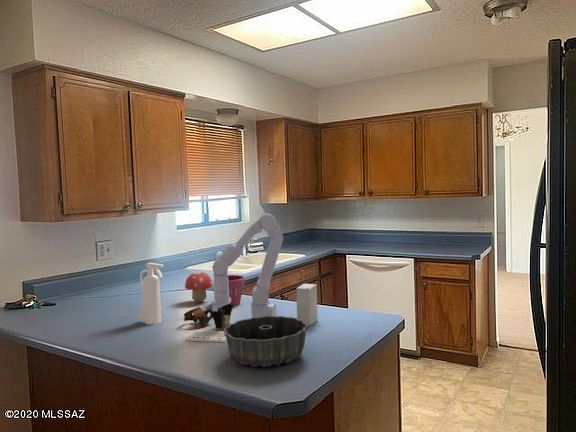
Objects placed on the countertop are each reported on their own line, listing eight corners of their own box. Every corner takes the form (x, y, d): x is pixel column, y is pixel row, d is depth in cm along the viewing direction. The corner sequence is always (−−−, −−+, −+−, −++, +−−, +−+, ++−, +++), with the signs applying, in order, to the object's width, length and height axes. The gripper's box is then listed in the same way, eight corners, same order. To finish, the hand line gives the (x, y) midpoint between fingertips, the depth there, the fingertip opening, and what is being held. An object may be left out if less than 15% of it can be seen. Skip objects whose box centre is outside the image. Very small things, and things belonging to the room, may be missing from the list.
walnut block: (229, 327, 175) (229, 315, 175) (226, 330, 171) (225, 317, 171) (220, 327, 176) (219, 314, 176) (216, 330, 172) (215, 317, 172)
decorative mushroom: (180, 305, 215) (178, 274, 215) (194, 298, 228) (193, 269, 227) (204, 306, 211) (203, 274, 210) (218, 299, 224) (216, 269, 223)
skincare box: (304, 319, 183) (303, 283, 182) (318, 320, 180) (317, 283, 179) (296, 325, 175) (295, 287, 174) (311, 326, 172) (309, 288, 172)
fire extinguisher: (143, 318, 192) (141, 261, 190) (168, 320, 189) (166, 262, 187) (133, 323, 186) (131, 263, 184) (159, 326, 182) (156, 265, 180)
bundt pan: (207, 359, 141) (206, 328, 141) (269, 338, 160) (268, 311, 159) (263, 382, 122) (261, 346, 122) (326, 355, 141) (324, 324, 140)
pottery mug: (189, 332, 173) (181, 312, 175) (188, 336, 181) (181, 317, 184) (218, 319, 177) (210, 300, 180) (216, 324, 186) (209, 306, 188)
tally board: (234, 333, 167) (234, 331, 167) (224, 342, 157) (224, 340, 157) (197, 332, 170) (197, 329, 170) (185, 340, 161) (185, 338, 161)
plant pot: (237, 308, 204) (236, 280, 204) (210, 307, 209) (208, 280, 208) (250, 301, 218) (249, 275, 217) (224, 300, 222) (223, 274, 222)
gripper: (219, 286, 181) (220, 319, 182) (203, 294, 167) (205, 330, 168) (235, 286, 179) (237, 320, 180) (221, 294, 165) (222, 331, 166)
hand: (222, 325), depth 174 cm, fingers open, 7 cm apart
